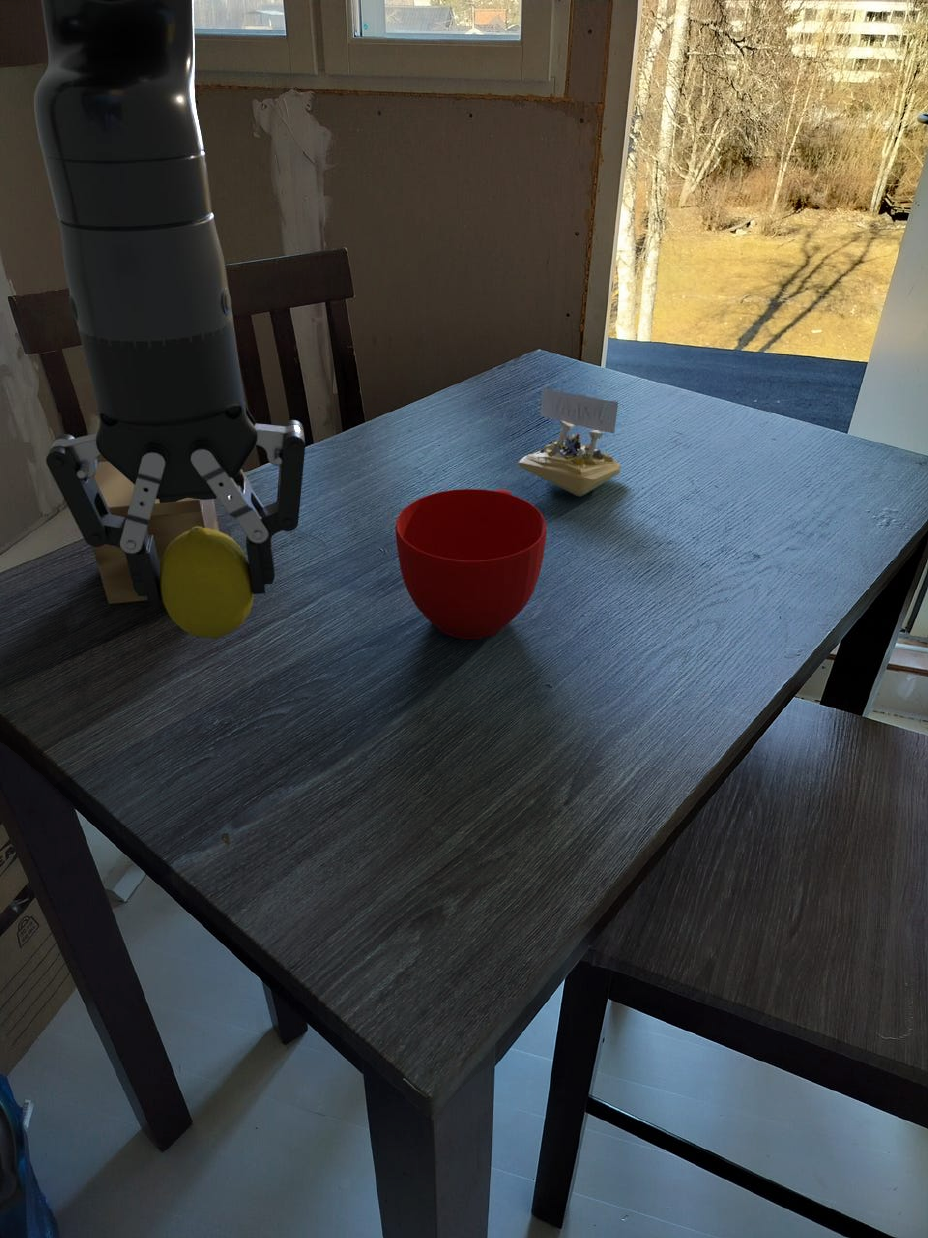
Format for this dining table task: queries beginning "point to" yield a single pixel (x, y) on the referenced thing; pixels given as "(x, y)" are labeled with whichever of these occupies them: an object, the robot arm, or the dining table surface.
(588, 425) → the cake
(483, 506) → the ceramic cup
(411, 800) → the dining table surface
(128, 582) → the wooden cube
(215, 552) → the lemon
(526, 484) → the dining table surface
